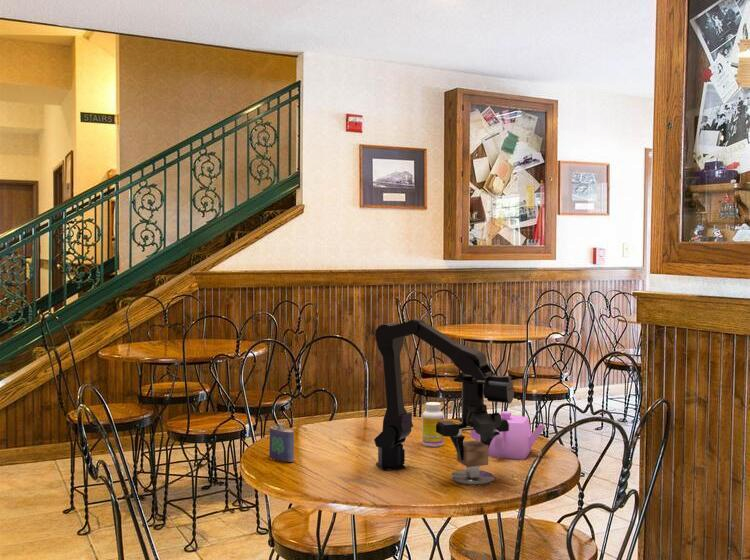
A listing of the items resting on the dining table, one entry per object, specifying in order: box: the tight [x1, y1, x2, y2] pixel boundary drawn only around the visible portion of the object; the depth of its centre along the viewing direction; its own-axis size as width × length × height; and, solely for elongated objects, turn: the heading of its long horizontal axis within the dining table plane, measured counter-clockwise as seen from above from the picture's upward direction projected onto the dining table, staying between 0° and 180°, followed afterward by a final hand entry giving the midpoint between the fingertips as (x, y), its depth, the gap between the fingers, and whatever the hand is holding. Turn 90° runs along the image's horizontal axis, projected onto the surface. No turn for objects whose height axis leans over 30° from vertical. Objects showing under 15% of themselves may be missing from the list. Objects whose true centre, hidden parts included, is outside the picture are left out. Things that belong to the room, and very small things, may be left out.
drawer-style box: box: [456, 439, 489, 468], centre depth 190 cm, size 6×6×5 cm
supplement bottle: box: [421, 401, 445, 448], centre depth 226 cm, size 7×7×13 cm
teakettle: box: [469, 410, 546, 460], centre depth 216 cm, size 17×17×12 cm
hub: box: [450, 466, 495, 487], centre depth 190 cm, size 11×11×4 cm
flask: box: [268, 422, 295, 463], centre depth 208 cm, size 9×3×11 cm, turn 50°
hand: (472, 459), depth 190 cm, fingers closed on drawer-style box, 6 cm apart
